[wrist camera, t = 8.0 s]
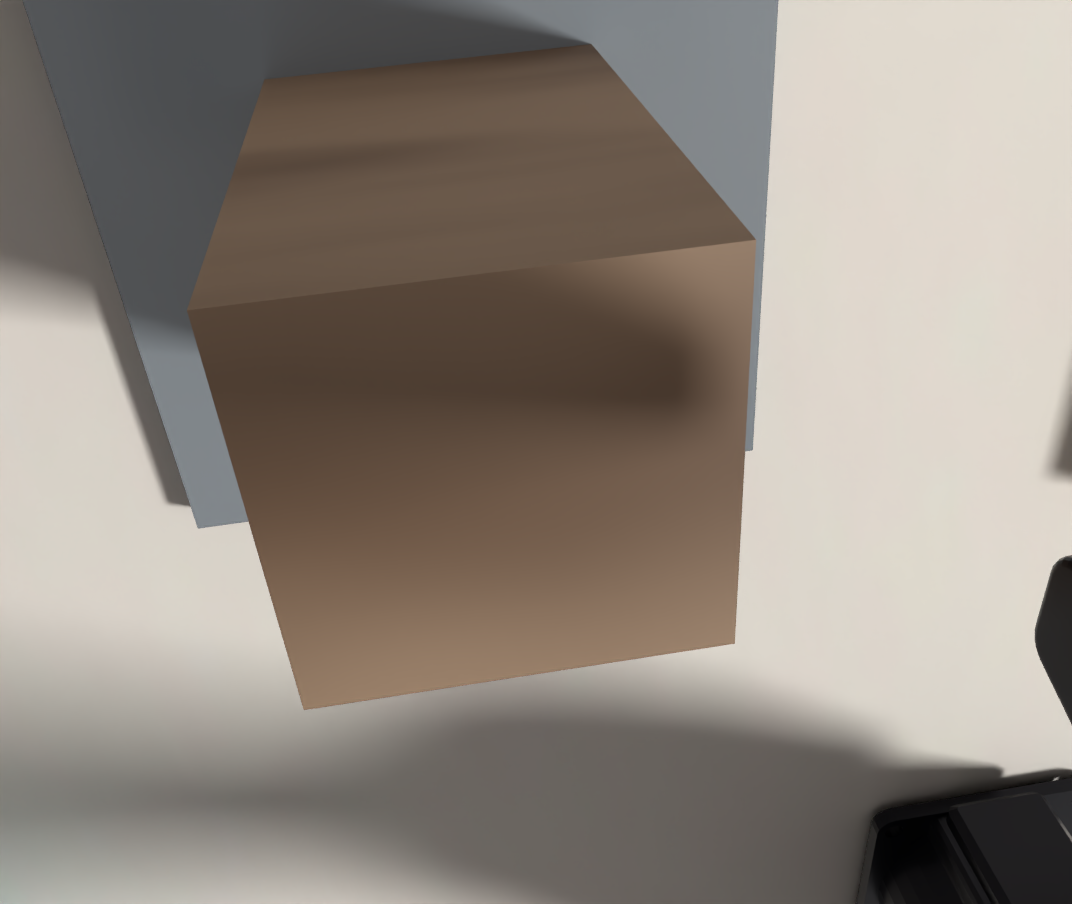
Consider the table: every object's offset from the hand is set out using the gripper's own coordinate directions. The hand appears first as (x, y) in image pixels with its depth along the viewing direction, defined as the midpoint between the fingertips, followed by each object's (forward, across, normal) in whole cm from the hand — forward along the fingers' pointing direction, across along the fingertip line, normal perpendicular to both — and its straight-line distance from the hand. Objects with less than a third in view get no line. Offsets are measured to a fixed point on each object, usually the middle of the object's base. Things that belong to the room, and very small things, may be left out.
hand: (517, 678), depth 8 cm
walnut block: (+10, 0, 0) cm, 11 cm away
